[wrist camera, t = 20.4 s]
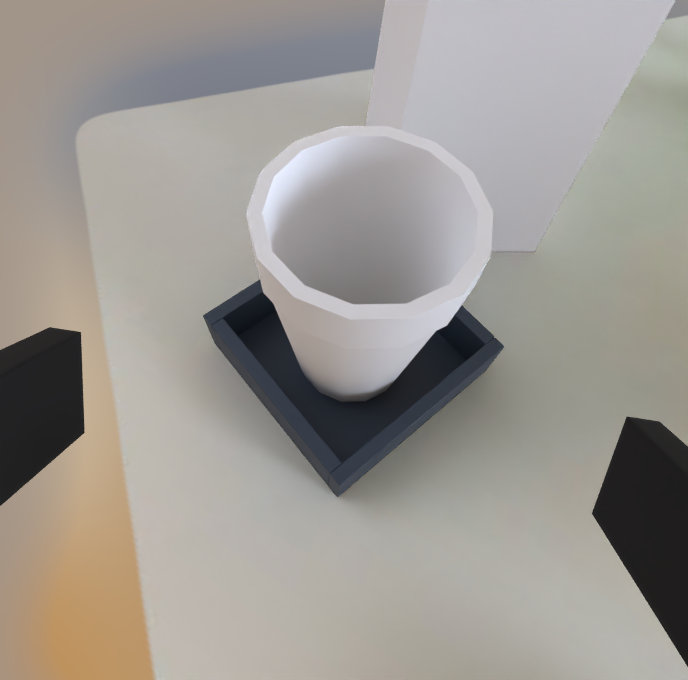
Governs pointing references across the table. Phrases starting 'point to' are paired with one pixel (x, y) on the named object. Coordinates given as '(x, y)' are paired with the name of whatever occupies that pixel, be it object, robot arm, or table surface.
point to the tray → (356, 416)
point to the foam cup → (366, 250)
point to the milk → (511, 91)
